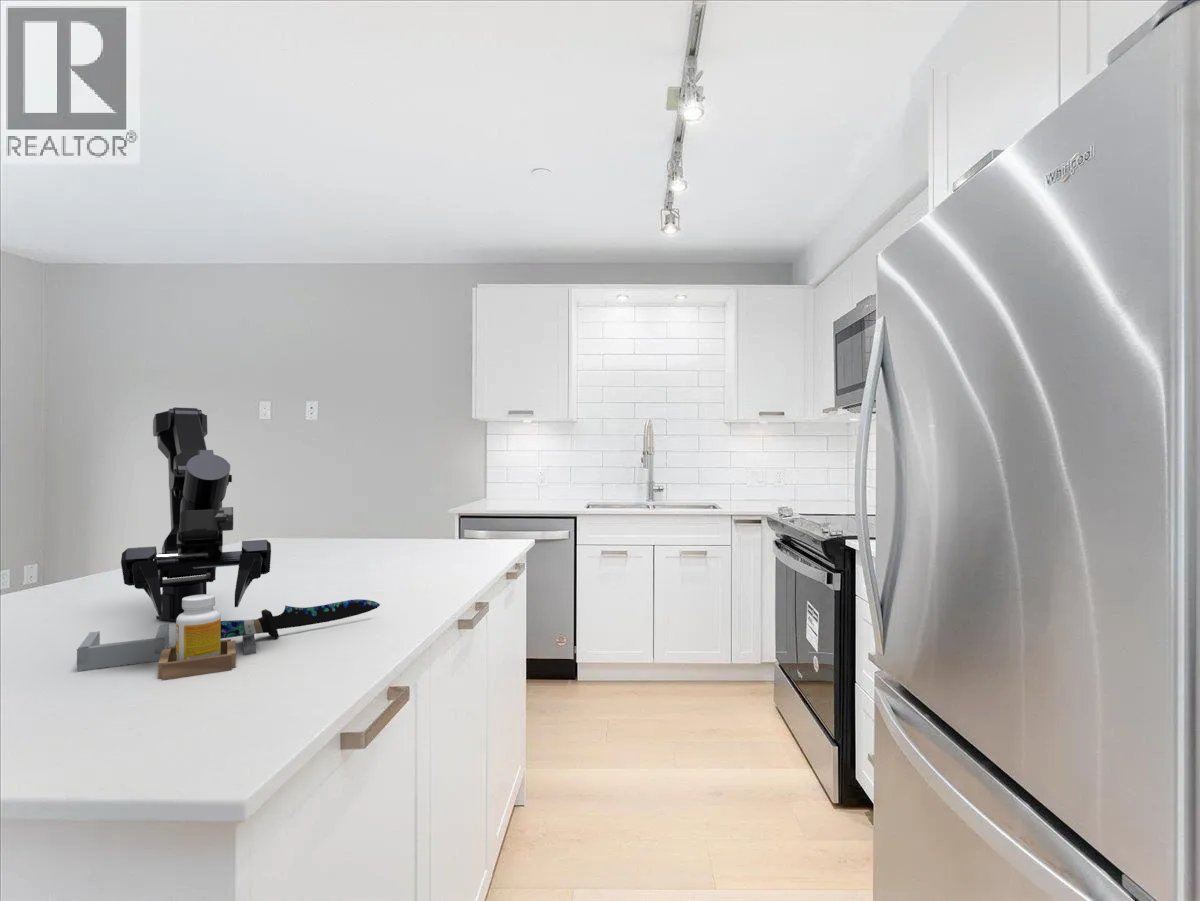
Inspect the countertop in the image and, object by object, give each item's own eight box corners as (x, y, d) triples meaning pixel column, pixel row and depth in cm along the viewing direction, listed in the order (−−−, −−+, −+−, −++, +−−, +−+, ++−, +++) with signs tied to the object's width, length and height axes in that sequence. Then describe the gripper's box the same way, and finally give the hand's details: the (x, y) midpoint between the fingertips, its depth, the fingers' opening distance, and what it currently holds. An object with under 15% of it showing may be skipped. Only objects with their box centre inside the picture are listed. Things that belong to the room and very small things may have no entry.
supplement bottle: (229, 661, 94) (229, 594, 94) (195, 673, 88) (195, 602, 88) (201, 658, 95) (201, 591, 95) (166, 669, 90) (166, 599, 90)
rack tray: (89, 652, 98) (89, 632, 98) (169, 642, 103) (169, 623, 103) (76, 671, 89) (76, 649, 89) (164, 659, 94) (164, 639, 94)
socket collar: (163, 661, 93) (163, 647, 93) (234, 652, 98) (234, 638, 98) (157, 680, 86) (157, 665, 86) (235, 669, 90) (235, 654, 90)
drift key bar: (242, 641, 104) (242, 635, 104) (253, 639, 104) (253, 633, 104) (243, 654, 97) (244, 647, 97) (256, 653, 98) (256, 646, 98)
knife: (186, 653, 97) (187, 623, 97) (182, 648, 99) (183, 618, 99) (385, 622, 117) (386, 597, 117) (378, 619, 119) (379, 594, 119)
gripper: (122, 491, 92) (111, 582, 82) (270, 487, 101) (275, 569, 92) (129, 541, 99) (119, 630, 89) (267, 533, 108) (271, 613, 98)
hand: (199, 609), depth 92 cm, fingers open, 9 cm apart
